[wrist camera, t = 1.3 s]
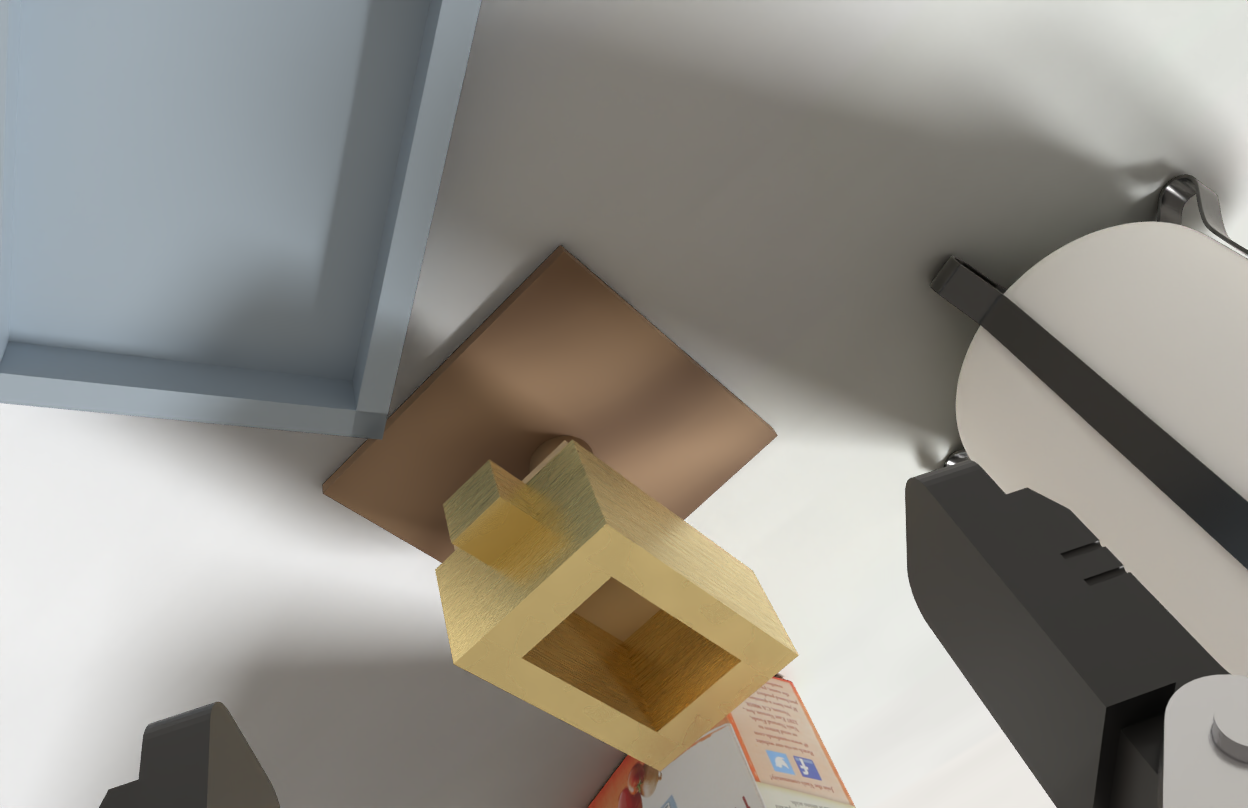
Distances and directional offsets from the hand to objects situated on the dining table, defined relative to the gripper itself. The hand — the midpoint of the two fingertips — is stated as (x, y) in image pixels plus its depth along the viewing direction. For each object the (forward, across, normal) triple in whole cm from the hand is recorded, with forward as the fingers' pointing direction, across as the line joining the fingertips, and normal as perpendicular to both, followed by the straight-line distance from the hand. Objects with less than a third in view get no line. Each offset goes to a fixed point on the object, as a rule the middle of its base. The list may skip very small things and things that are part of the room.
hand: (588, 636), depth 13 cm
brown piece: (+24, -2, +16) cm, 29 cm away
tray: (+24, +5, +1) cm, 24 cm away
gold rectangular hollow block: (+17, -2, +16) cm, 23 cm away
